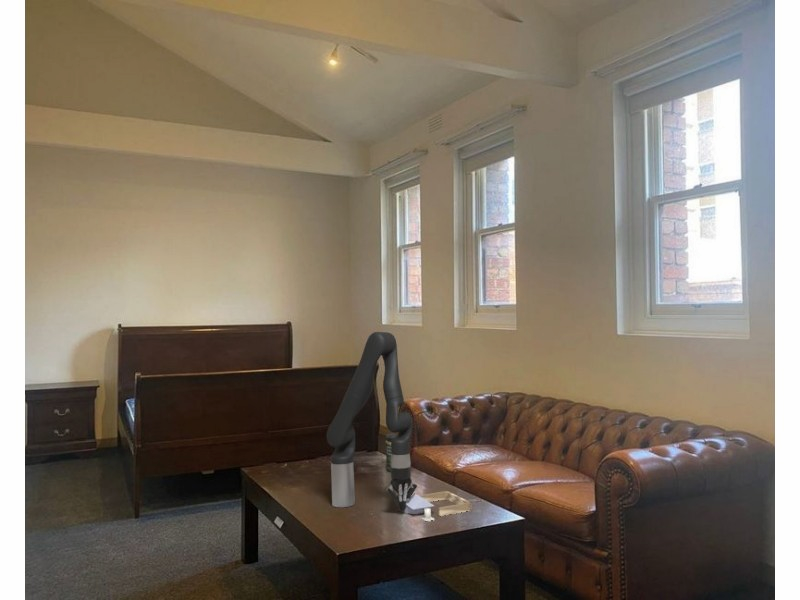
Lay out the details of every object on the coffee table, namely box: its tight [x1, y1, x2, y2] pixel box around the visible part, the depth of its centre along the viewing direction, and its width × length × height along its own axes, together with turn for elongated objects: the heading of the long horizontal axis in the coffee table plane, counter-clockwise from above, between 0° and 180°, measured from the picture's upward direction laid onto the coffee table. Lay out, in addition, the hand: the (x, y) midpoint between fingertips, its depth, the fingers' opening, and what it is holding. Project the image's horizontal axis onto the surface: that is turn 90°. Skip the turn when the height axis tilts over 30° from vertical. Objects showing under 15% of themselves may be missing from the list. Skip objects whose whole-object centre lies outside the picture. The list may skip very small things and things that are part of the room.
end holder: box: [418, 490, 473, 517], centre depth 244 cm, size 19×14×3 cm
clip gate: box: [421, 507, 435, 522], centre depth 239 cm, size 25×4×4 cm, turn 25°
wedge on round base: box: [403, 492, 435, 515], centre depth 239 cm, size 9×7×13 cm
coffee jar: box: [385, 432, 398, 473], centre depth 304 cm, size 10×8×19 cm
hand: (401, 510), depth 237 cm, fingers closed
